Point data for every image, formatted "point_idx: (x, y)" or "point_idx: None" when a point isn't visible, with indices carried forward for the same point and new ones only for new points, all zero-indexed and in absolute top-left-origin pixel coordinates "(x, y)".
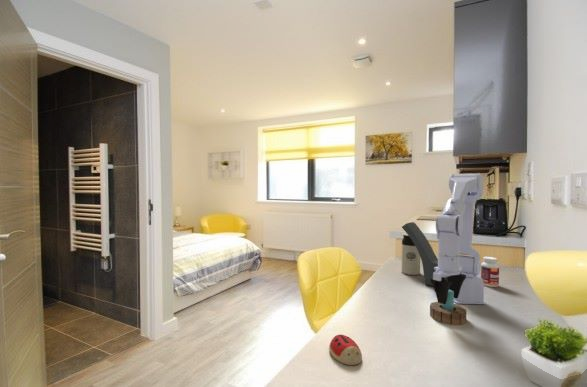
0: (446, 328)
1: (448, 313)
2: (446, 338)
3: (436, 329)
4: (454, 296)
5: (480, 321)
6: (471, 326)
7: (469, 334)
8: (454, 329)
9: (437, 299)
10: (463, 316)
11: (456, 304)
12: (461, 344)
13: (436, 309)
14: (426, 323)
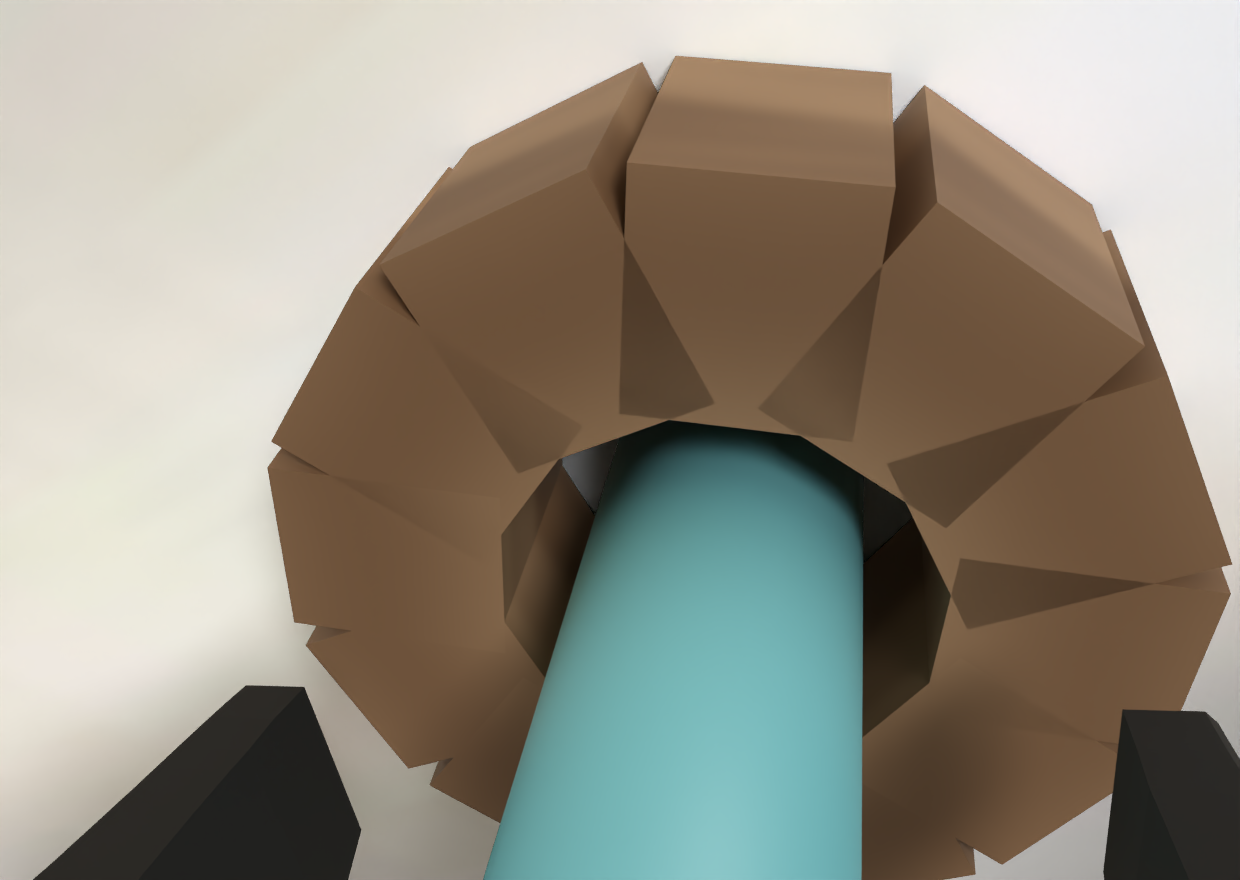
0: (274, 626)
1: (386, 739)
2: (24, 737)
3: (79, 557)
4: (1121, 859)
5: None
6: None
7: (436, 856)
8: None
9: (187, 744)
10: None
11: (1194, 644)
12: None
13: (309, 512)
14: (66, 348)
